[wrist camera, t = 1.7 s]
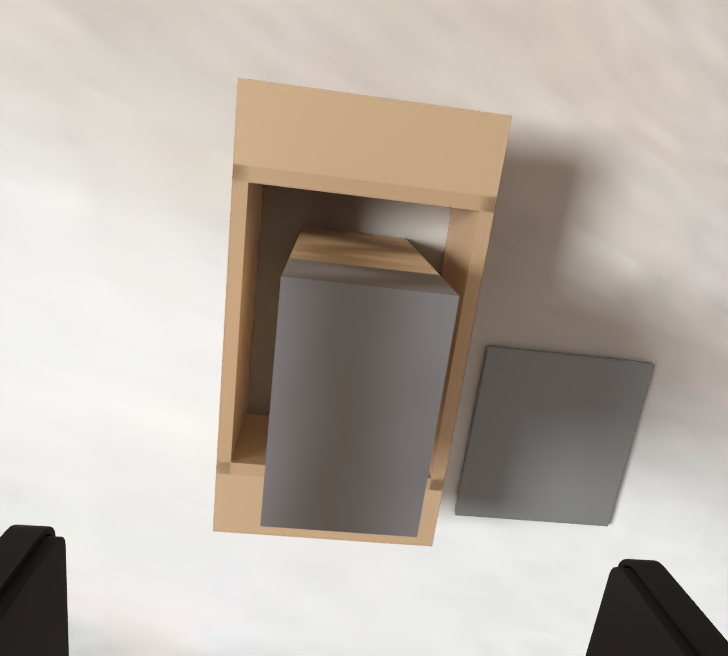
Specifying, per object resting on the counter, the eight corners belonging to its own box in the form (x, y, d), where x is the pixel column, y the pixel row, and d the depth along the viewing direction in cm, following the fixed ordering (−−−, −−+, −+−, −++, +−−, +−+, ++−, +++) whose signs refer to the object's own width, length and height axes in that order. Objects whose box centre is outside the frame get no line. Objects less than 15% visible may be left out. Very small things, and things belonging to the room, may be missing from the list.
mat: (651, 362, 30) (654, 364, 29) (605, 523, 32) (607, 526, 32) (486, 345, 29) (488, 347, 29) (454, 511, 32) (455, 514, 31)
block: (405, 238, 27) (459, 295, 16) (383, 389, 29) (416, 537, 18) (302, 226, 27) (280, 276, 15) (288, 381, 29) (260, 526, 17)
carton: (478, 124, 26) (511, 115, 21) (416, 486, 31) (432, 546, 26) (255, 93, 25) (237, 77, 20) (231, 472, 30) (212, 531, 25)
